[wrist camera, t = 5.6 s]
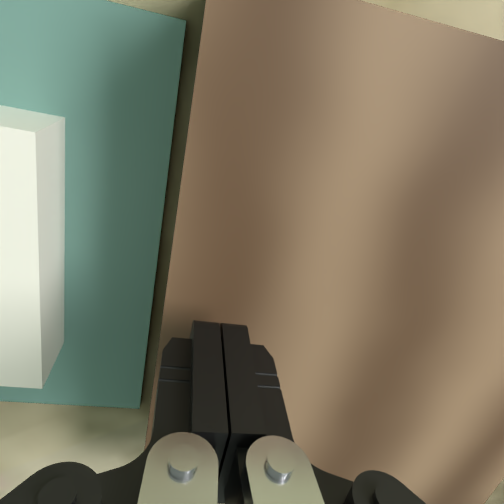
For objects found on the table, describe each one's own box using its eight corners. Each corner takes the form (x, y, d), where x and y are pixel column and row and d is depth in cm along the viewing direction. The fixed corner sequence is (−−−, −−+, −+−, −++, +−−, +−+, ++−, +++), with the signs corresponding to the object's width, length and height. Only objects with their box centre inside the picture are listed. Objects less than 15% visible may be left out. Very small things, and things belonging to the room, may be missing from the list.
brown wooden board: (637, 102, 14) (778, 119, 11) (437, 433, 22) (482, 505, 19) (208, -14, 11) (211, -43, 8) (148, 418, 19) (137, 502, 16)
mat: (186, 21, 12) (186, 20, 11) (140, 403, 19) (139, 408, 18) (-219, -80, 10) (-230, -84, 9) (-103, 389, 17) (-108, 395, 16)
